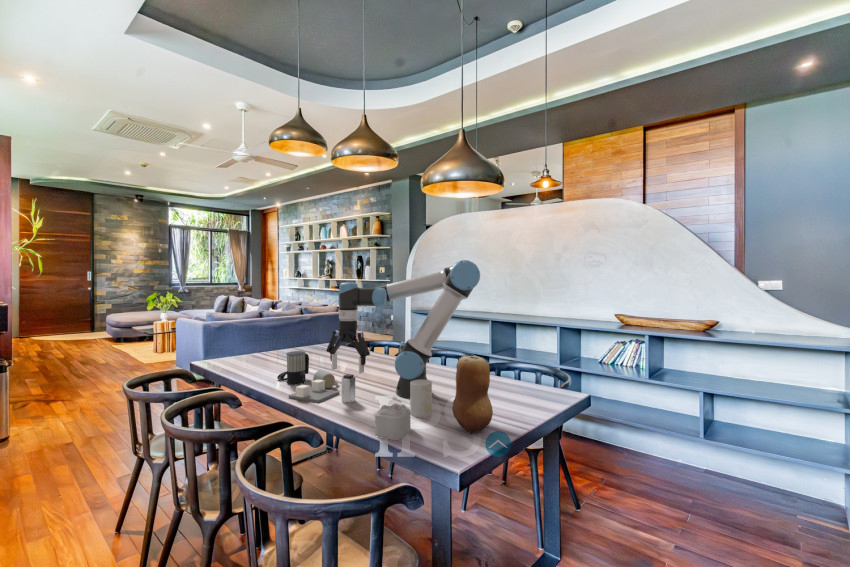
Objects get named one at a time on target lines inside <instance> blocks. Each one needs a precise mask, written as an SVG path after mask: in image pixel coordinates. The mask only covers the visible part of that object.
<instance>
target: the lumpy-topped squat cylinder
mask: <svg viewBox="0 0 850 567" xmlns="http://www.w3.org/2000/svg"><path fill="white" fill-rule="evenodd" d="M374 417H375V418H374V425H375V426H374V432H375V433H374V434H375V435H376V436H378V437H383V438H382V439H385V438H387V440H389V439H390V440H389V441H399V440H402V439H404V438H406V437H407V436H408V435H409V434H411V414H410V407H408V406H407V405H405V404H399V403H392V404H391V405H387V404H383V405H382V406H381V407H380V409H379V410H377V411H376V412H375V414H374ZM375 435H374V436H375ZM376 436H375V437H376ZM378 437H377V438H378Z"/></svg>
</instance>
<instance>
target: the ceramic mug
mask: <svg viewBox="0 0 850 567" xmlns="http://www.w3.org/2000/svg"><path fill="white" fill-rule="evenodd" d="M315 380H325V389H326V390H329V389H330V388H332V387H333V386H338V385H339V382H338V381H336V378H335V376H334V375H333V374H332V373H331V372H328V371H326V370H323V369H319V370H317V371H316V372H315V373H314V374H313V377H312V381H315Z"/></svg>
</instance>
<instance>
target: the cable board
mask: <svg viewBox="0 0 850 567" xmlns="http://www.w3.org/2000/svg"><path fill="white" fill-rule="evenodd" d="M335 395H336V396H339V395H340V391H339V390H333V389H325V380H315V381H313V380H312V381H311V387H310V385H306V384H299V385H298V386H297V385H296V387H295V392H294V393H291V394H288V398H289V399H292V398H295V399H294V400H298V399H300V400H299V401H304V400H307V401H306V402H310V401H311V402H312V403H316V402H317V403H318V404H320V403H321V402H324V401H326V400H329V399H331V398H333V396H334V397H336V396H335Z"/></svg>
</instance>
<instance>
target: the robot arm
mask: <svg viewBox="0 0 850 567" xmlns="http://www.w3.org/2000/svg"><path fill="white" fill-rule="evenodd" d="M480 280H481V271H480V269H479V267H478V265H477V264H475V263H474V262H473V261H471V260H466V259H463V260H459V261H457V262H455V264H453V265H451V266H448V267H444V268H442V270H441V271H438V272H433V273H430V274H426V275H425V274H424V275H421V276H416V277H412V278H409V279H405V280H401V281H397V282H392V283H388V284H384V285H380V286H379V285H378V286H374V287H359V286H358V283H357V282H341V283H340V284H339V290H338V319H339V320H338V329H339V330H337V329H336V330H333V331H332V335H331V338H330V340H329V343H328V345H327V347H326V350H325V352H327V353H329V355H330V362H331V370H332V371H333V370H337V369H338V352H337V351H338V350H339V348H340V347H341V346H342V344H343V343H347V344H351V345H352V346H353V347H354V350H356V352H357V353H358V355H359V357H358V374H363V373H365V365H366V364H367V363H366V362H367V360H366V358H367V356H370V355H371V353H370V350H369V348H368V345H367V342H366V341H365V340H366V339H365V337H364V332H361V331H360V332H357V330H358V321H357V319H358V306H359V307H362V306H363V307H377V308H378V307H385V306H386V304H387V303H388V302H393V301H396V300H401V299H405V298H409V297H413V296H417V295H423V294H426V293H427V294H428V293H430V292H434V291H439V290H442V291H441V293H440V294H439V296H438V298H437V299H436V301H435V303H433V306H432V307H431V309H430V310H429V312H428V313H427V315H426V317H425V318H424V320H423V321H422V324H421V325H420V327H419V328H418V330H417V331H416V333H415V335H414V336H413V338H410V339H409V338H408V339H407V341H401V342H400V343H399V353H398V355H397V356H396V357H395V360H394V368H395V371H396V373H397V374H398V376H399V378H398V382H397V385H396V388H395V394H396V395H397V396H398V395H399V397H403V398H409V399H410V382H411V381H413V380H428V377H427V363H428V362H429V360H430V359H431V357H432V356H433V353H432V349H433V347H434V345H435V344H436V342H437V341H438V338H439V337H440V336H441V334H442V333H443V331H444V329H445V328H446V327H447V325H448V323H449V321H450V319H451V318H452V316H453V314H455V311H456V310H457V309H458V306H460V304H461V303H462V301H463V300H467V299H469V296H470V295H471V293H472V291H473V290H474V288H475V287H476V286H478V284H479V282H480ZM338 337H339V338H338Z"/></svg>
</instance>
